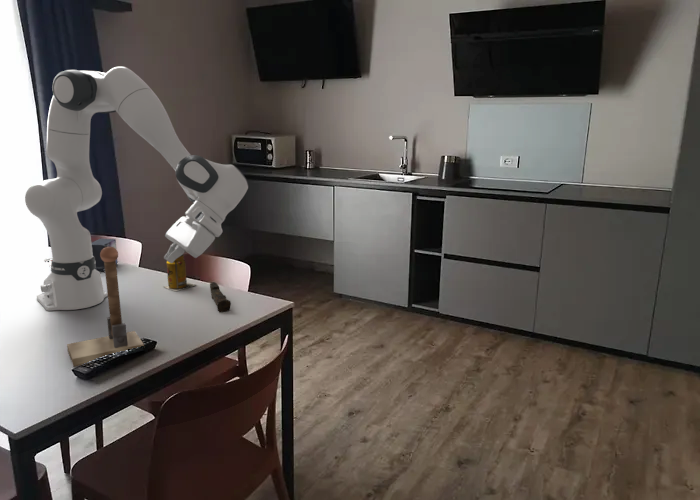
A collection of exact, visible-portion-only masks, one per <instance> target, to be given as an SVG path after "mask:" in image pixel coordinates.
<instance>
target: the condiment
mask: <svg viewBox="0 0 700 500" xmlns="http://www.w3.org/2000/svg"><path fill="white" fill-rule="evenodd" d="M186 269H187V267H186V260H185V256H184V253H183V255H181V256H180V257H178V258H177V259H175V261H174V262H173V263H170V262H168V261H167V260H166V270H167V271H166V272H167V273H166V274H167V284H168V285H166V286H164V288H166V289H168V290H170V291H174V292H177V291H181V290H185V289H188V288H192V287H194V286H196V284H193V283H191V282H188V280H187V270H186Z"/></svg>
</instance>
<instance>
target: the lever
mask: <svg viewBox="0 0 700 500" xmlns="http://www.w3.org/2000/svg"><path fill="white" fill-rule="evenodd" d="M100 257H101V259H102V260H103V261H104V266H105V272H104V273H105V283H106V292H107V294H108V296H107V301H108V302H107V303H108V311H109V317H110V322H111V334H112V336H113V333H112V325H117V324H122V323H123V320H122V311H121V310H122V309H121V299H120V290H119V281H118V280H119V279H118V270H117V265H116V260H117V261H118V257H119V251H118V250H117V248H116V249H115V248H114V247H110V246H109V247H105V248H103V249H102V251H101V253H100Z"/></svg>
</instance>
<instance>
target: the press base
mask: <svg viewBox="0 0 700 500" xmlns="http://www.w3.org/2000/svg"><path fill="white" fill-rule="evenodd" d="M106 324H107V332H108V335H107V336H101V337H97V338H92V339H87V340H81V341H76V342H71V343H67V344H66V347H67V353H68V355H69V359H70V360H71V363H72V366H73V367H74V368H76V367H80V366H83V365H82V364H84V363H87V362H89V361H92V360H94V359H96V358H99V357H102V356H105V355H108V354H112V353H116V352H120V351H125V350H128V349H132V348H137V347H141V346H144V347H145V343H144V342H143V341H142V340H141V338H140V336H139V335H138V334H137V332H136V331H135V330H133V331H127V325H126V322H124V323H123V322H122V324H117V325H112V333H113V336H112V334H111V322H110V316H107V317H106ZM79 365H80V366H79Z"/></svg>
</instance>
